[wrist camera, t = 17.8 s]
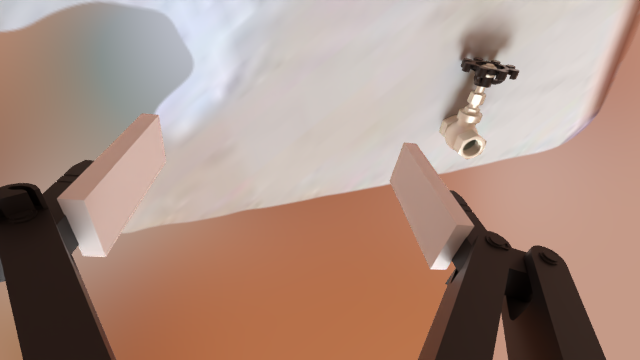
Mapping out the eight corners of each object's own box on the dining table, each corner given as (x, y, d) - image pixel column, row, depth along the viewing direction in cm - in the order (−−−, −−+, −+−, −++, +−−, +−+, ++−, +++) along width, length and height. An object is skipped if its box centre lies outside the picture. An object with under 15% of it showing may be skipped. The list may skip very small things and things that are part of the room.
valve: (466, 139, 46) (499, 59, 39) (488, 161, 41) (532, 73, 34) (426, 137, 45) (453, 55, 38) (444, 160, 40) (479, 70, 33)
